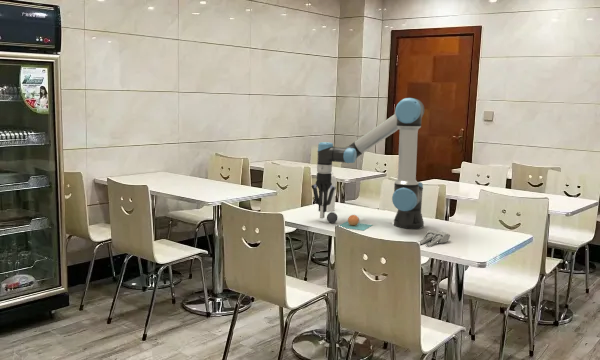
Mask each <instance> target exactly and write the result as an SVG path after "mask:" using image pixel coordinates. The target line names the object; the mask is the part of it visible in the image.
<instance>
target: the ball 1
mask: <svg viewBox="0 0 600 360" xmlns="http://www.w3.org/2000/svg"><path fill="white" fill-rule="evenodd" d="M326 220H327V222H329V223H330V224H335V223H336V222H337V221H338V215H337V213H336V212H334V211H330V212H328V214H327V215H326Z"/></svg>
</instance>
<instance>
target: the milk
mask: <svg viewBox="0 0 600 360" xmlns="http://www.w3.org/2000/svg"><path fill="white" fill-rule="evenodd" d="M331 174H332V175H331V183H332V186H334V187H336V186H337V177H336V176H334V173H333V172H331ZM330 188H331V187H330ZM330 188H329V189H328V195H327V200H328V197H329V193H330ZM336 189H337V187H336ZM336 189H335V190H334V193H333V196H332V200H331V203H330V205H327V209H326V212H325V213H331V212H334V211H335V209H336V208H335V205H336ZM323 197H324V193H323ZM322 205H323V202H322Z"/></svg>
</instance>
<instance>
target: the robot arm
mask: <svg viewBox="0 0 600 360" xmlns="http://www.w3.org/2000/svg"><path fill="white" fill-rule="evenodd" d="M424 115H425V106H424V104H423V102H422V101H421V100H420V99H418V98H413V97H405V98H402V99H401V100H400V101H399V102H398V103H397V104H396V107H395V110H394V114H393V115H391V116H390V117H389V118H387V119H386V120H384V121H383V122H380V124H378V125H377V126H375V127H374V128H372V129H371V130H370V131H368V132H366V133H365V134H363V135H362V136H360V137H359V138H358V139H356V140H355V141H354V142H352V143H350V144H349V145H348V146H345V147H344V146H343V147H342V146H341V147H339V146H338V147H337V146H334V143H333V142H330V141H329V142H328V141H322V142H320V141H319V143H318V146H317V160H316V161H317V165H316V181H315V183H314V184H311V186H310V187H311V189H312V192H313V198H314V203H315V204H316V205H318V212H319V219H325V214H326V213H327V212H326V209H327V205H330V203H331V200H332V196H333V193H334V190H335V189H337V187H334V186H332V183H331V175H332V174H331V172H332V171H333V169H332V168H333V162H334V163H335V162H336V163H345V164H346V163H347V164H354V163H355V162H356V160H357V159H358V158H359V157H361V156H362V155H363V154H364V153H365V152H368V151H369V150H371V149H372V148H373V147H374V146H376V145H377V144H379V143H380V142H382V141H383V140H385V139H387V138H388V137H390V136H391V135H392V134H394V133H396V132H398V130H399V132H398V133H399V138H398V139H399V140H398V143H399V144H398V163H397V164H398V165H397V179H396V180H395V181H394V184H393V185H394V188H393V190H394V191H393V194H392V197H391V200H392V201H391V202H392V204H393V206H394V207H395V209H397V211H396V214H395V217H394V219H393V226H395V227H397V228H401V229H412V230H417V229H423V228H424V225H425V223H424V222H425V221H424V218H423V214H422V204H423V190H424V184H423V183H422V182H421V181H417V176H416V175H417V157H418V155H417V154H418V136H419V135H418V134H419V133H418V132H419V129H421V128H422V118H423V116H424ZM332 173H333V172H332ZM330 187H331V188H330ZM329 188H330V193H329V197H328V200H327V195H328V189H329ZM335 191H336V190H335ZM323 193H324V197H323ZM322 202H323V205H322Z"/></svg>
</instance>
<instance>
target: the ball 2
mask: <svg viewBox="0 0 600 360" xmlns="http://www.w3.org/2000/svg"><path fill="white" fill-rule="evenodd" d="M347 222H348V223H349V224H350V225H351V226H356V225H357V224H358V223H360V219H359V216H357V215H355V214H351V215H349V216H348V218H347Z"/></svg>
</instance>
